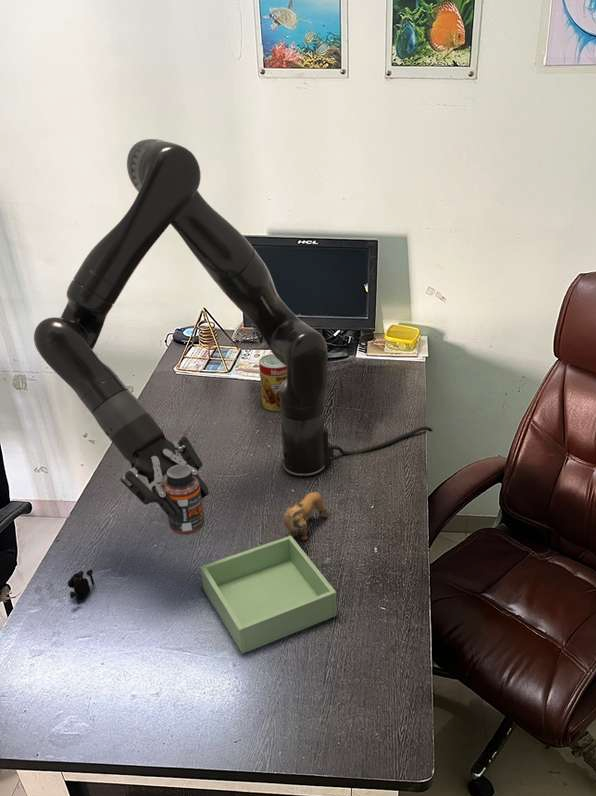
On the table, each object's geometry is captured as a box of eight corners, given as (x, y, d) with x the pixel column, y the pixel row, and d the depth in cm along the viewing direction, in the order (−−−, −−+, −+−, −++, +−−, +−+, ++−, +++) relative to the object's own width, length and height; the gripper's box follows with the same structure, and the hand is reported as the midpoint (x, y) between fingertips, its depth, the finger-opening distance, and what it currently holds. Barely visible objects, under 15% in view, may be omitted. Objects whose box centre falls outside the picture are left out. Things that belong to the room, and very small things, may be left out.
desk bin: (292, 558, 141) (290, 535, 138) (336, 615, 129) (336, 592, 126) (203, 589, 133) (200, 566, 130) (242, 654, 121) (239, 630, 118)
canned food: (281, 414, 185) (278, 370, 178) (256, 405, 188) (252, 362, 181) (299, 401, 191) (297, 358, 183) (274, 393, 194) (272, 350, 187)
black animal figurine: (77, 610, 129) (71, 589, 126) (64, 608, 129) (57, 586, 126) (98, 583, 134) (92, 562, 131) (85, 581, 135) (79, 560, 132)
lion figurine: (305, 554, 142) (303, 516, 137) (279, 548, 143) (276, 511, 138) (331, 510, 153) (330, 474, 148) (307, 505, 155) (306, 469, 149)
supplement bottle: (197, 538, 125) (188, 484, 118) (164, 533, 126) (153, 478, 119) (210, 517, 129) (203, 463, 123) (178, 512, 130) (169, 458, 123)
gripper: (102, 434, 114) (171, 521, 116) (169, 396, 124) (231, 477, 126) (85, 453, 119) (151, 536, 122) (150, 415, 129) (210, 492, 131)
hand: (191, 505), depth 124 cm, fingers closed on supplement bottle, 6 cm apart
